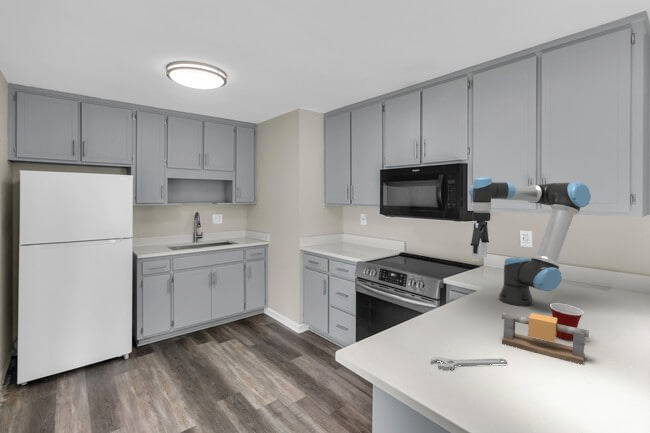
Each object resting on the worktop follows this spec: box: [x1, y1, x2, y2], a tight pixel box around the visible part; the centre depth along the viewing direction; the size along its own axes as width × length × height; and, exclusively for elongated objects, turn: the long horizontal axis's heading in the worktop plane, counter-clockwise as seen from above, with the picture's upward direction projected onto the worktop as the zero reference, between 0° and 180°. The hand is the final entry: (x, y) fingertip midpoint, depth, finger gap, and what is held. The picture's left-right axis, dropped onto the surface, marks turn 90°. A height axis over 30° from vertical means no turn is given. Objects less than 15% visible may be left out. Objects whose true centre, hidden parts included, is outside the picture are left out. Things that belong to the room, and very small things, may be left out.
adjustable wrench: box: [430, 356, 508, 371], centre depth 107 cm, size 25×6×2 cm, turn 90°
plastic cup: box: [549, 302, 585, 341], centre depth 129 cm, size 11×11×12 cm
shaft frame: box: [501, 312, 590, 365], centre depth 119 cm, size 10×26×10 cm, turn 51°
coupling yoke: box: [527, 312, 557, 343], centre depth 119 cm, size 6×8×7 cm
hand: (479, 258), depth 150 cm, fingers open, 13 cm apart
